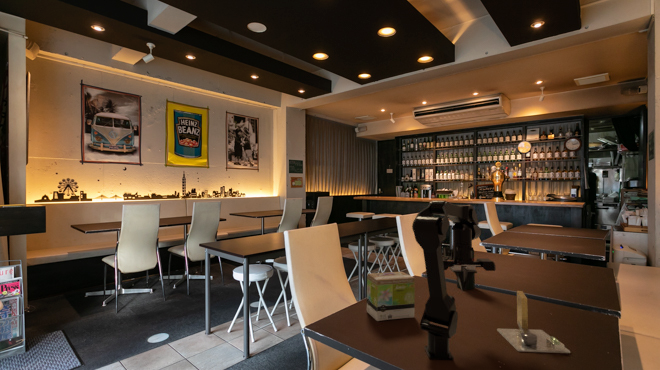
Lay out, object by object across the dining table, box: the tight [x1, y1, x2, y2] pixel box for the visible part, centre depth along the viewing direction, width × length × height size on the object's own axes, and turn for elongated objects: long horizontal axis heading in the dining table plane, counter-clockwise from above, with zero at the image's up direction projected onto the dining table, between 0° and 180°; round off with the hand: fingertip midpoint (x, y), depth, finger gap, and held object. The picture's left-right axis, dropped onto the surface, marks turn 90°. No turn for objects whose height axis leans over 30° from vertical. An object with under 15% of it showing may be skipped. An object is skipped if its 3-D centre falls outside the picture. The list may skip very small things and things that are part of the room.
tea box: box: [366, 271, 416, 322], centre depth 119 cm, size 15×10×15 cm, turn 106°
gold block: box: [516, 290, 537, 345], centre depth 101 cm, size 16×4×11 cm, turn 159°
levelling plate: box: [496, 328, 571, 354], centre depth 98 cm, size 14×14×3 cm
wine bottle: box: [456, 248, 476, 291], centre depth 152 cm, size 8×10×30 cm
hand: (463, 290), depth 106 cm, fingers closed
